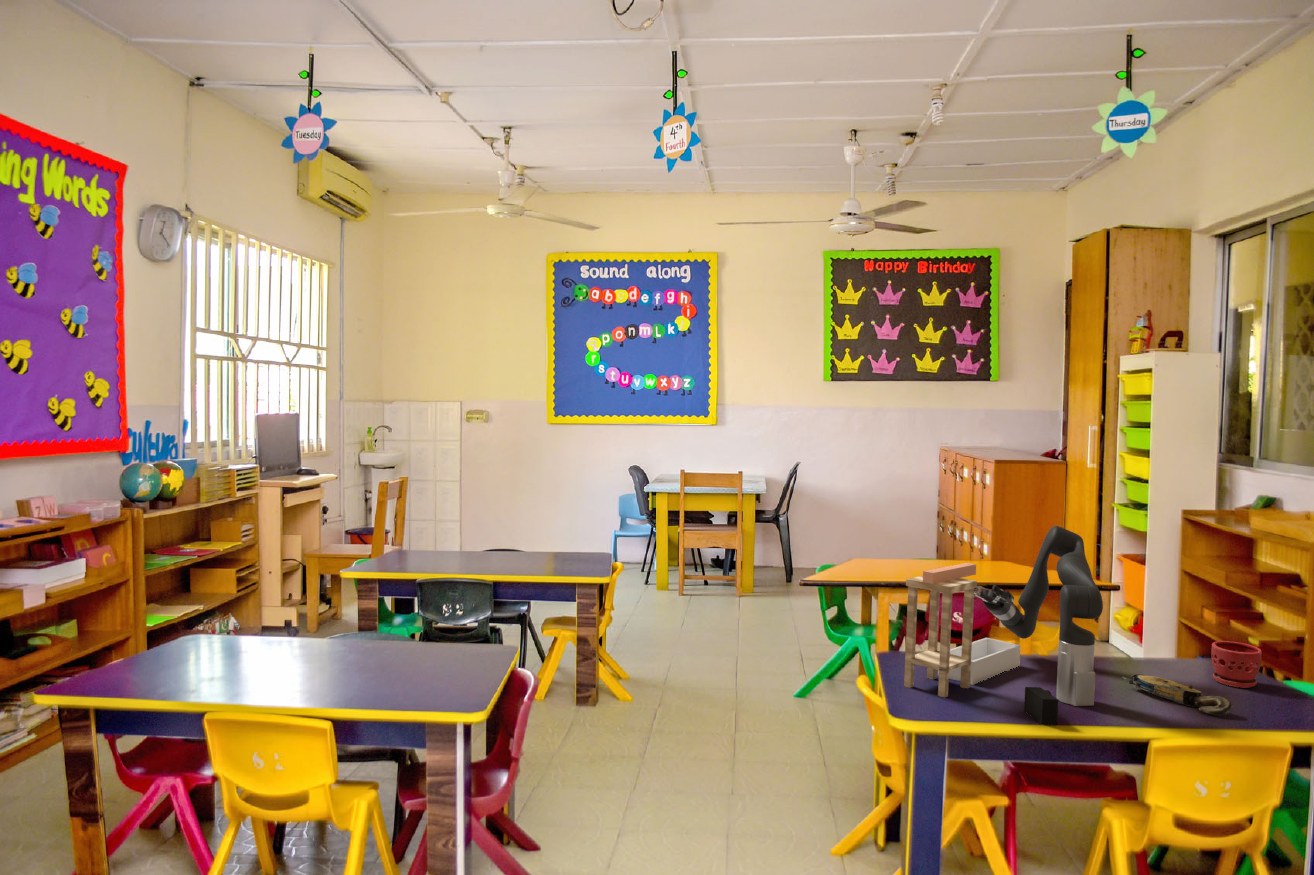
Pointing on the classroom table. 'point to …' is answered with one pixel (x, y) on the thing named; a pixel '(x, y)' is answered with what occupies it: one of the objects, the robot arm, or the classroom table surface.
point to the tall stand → (943, 657)
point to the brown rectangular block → (949, 573)
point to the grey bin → (988, 659)
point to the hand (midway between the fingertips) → (980, 585)
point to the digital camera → (1041, 705)
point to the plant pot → (1235, 663)
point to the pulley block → (1181, 694)
